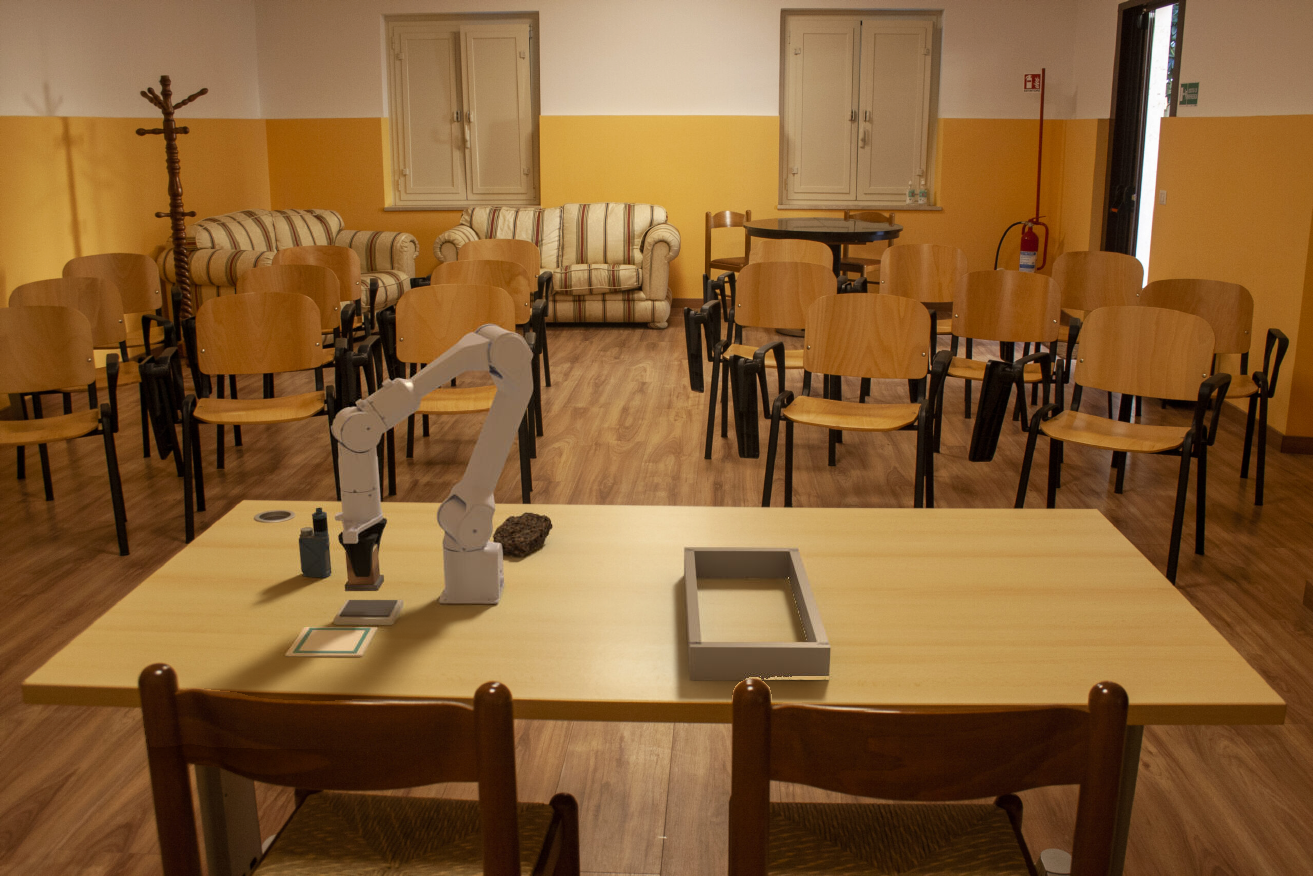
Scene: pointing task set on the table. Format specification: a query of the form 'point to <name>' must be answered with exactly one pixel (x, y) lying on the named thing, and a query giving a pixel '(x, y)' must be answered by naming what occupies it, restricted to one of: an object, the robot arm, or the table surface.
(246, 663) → the table surface
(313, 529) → the vaping device
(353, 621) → the ink pad
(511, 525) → the dark brown rock
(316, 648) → the print sheet
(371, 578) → the stamp
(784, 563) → the open rectangular frame
